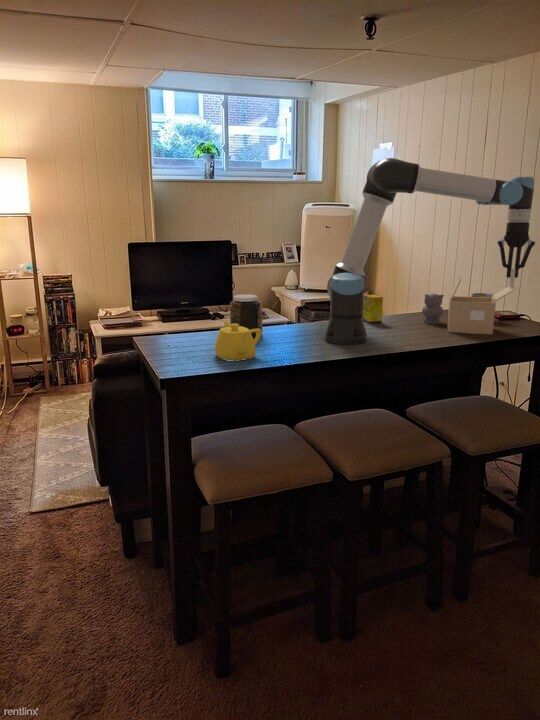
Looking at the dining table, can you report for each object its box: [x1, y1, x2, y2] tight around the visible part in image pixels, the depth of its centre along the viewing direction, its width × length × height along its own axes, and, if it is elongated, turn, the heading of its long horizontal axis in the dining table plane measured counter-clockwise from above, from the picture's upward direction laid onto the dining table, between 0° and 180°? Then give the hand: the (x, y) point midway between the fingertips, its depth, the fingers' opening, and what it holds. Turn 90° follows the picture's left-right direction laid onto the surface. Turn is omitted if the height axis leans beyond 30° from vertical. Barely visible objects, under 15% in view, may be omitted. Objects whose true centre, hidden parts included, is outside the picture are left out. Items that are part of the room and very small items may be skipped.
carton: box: [446, 295, 497, 335], centre depth 213 cm, size 16×12×12 cm
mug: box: [470, 292, 494, 298], centre depth 233 cm, size 12×9×11 cm
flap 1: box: [449, 275, 462, 300], centre depth 212 cm, size 8×11×1 cm
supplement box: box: [363, 294, 384, 324], centre depth 229 cm, size 6×6×11 cm
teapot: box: [214, 319, 263, 360], centre depth 178 cm, size 22×16×11 cm
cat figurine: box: [421, 293, 445, 325], centre depth 227 cm, size 8×8×12 cm
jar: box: [229, 294, 263, 339], centre depth 205 cm, size 12×12×15 cm
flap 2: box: [492, 286, 517, 303], centre depth 207 cm, size 8×11×1 cm
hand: (510, 286), depth 206 cm, fingers closed
